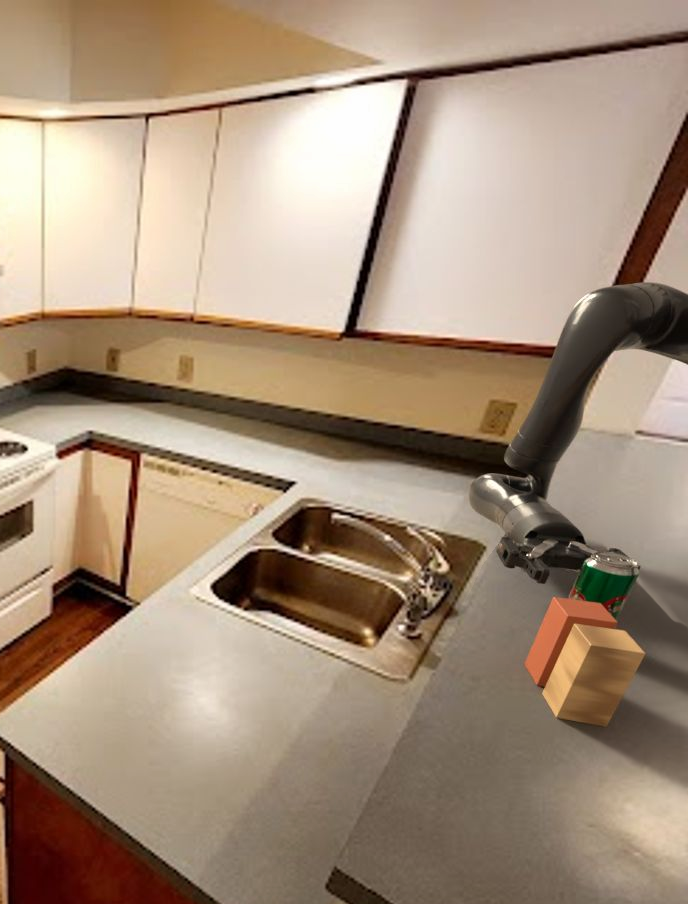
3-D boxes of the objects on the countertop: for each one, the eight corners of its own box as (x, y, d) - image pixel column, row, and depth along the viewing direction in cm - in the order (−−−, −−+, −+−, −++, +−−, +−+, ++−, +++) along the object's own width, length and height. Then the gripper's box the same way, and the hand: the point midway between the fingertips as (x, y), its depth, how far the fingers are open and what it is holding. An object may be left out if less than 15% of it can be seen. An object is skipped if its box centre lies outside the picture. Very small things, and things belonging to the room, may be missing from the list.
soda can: (547, 624, 86) (581, 547, 80) (595, 632, 84) (633, 553, 78) (559, 644, 82) (595, 564, 76) (610, 653, 80) (651, 571, 74)
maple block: (589, 702, 72) (625, 630, 68) (606, 727, 68) (646, 653, 64) (541, 693, 74) (573, 623, 69) (556, 717, 70) (591, 645, 66)
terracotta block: (568, 671, 77) (600, 602, 72) (583, 693, 73) (618, 622, 69) (524, 664, 78) (553, 596, 74) (536, 685, 75) (568, 615, 70)
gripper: (491, 506, 97) (528, 550, 84) (610, 516, 92) (668, 566, 79) (477, 548, 100) (509, 597, 87) (590, 561, 95) (643, 616, 82)
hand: (585, 582), depth 83 cm, fingers open, 8 cm apart
